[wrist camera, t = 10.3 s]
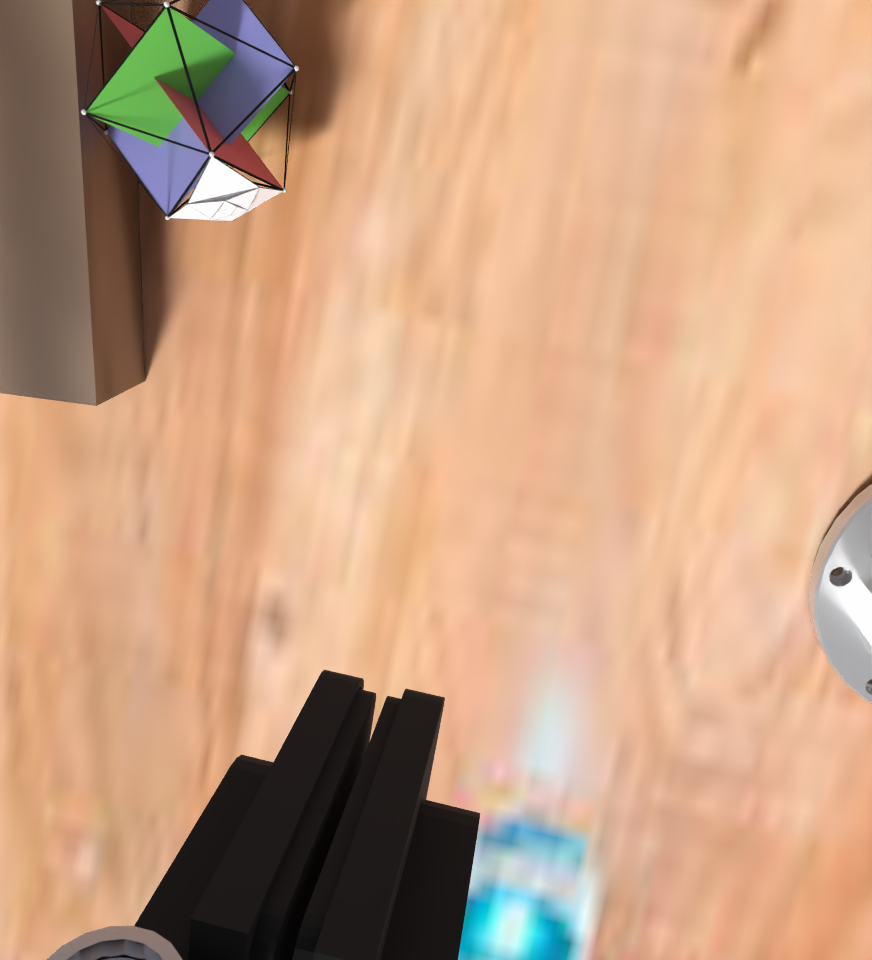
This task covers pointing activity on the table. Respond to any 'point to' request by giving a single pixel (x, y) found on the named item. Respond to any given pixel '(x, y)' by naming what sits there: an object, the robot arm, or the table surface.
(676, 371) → the table surface
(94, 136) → the block
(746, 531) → the table surface
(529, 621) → the table surface
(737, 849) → the table surface
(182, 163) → the geometric puzzle
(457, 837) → the robot arm
